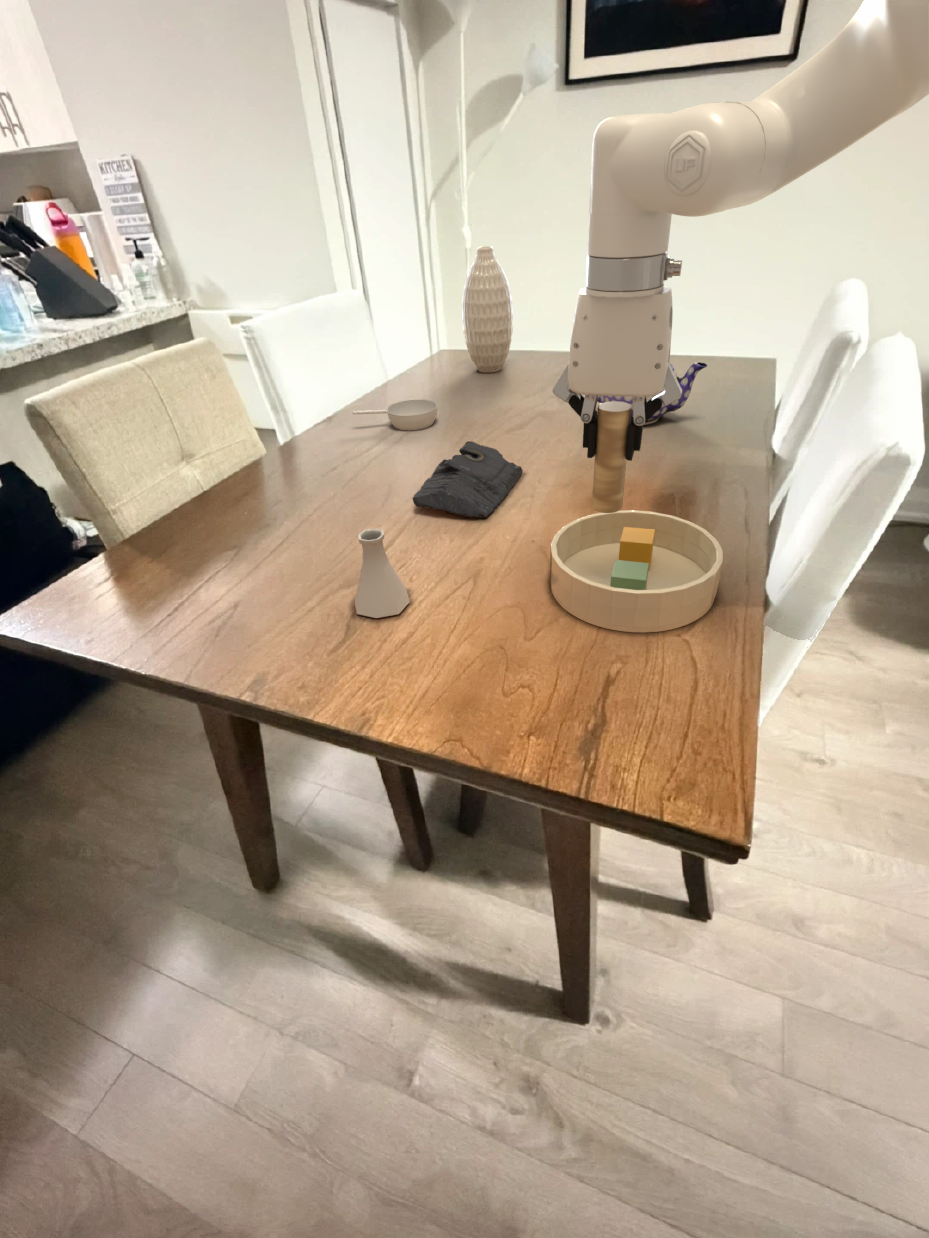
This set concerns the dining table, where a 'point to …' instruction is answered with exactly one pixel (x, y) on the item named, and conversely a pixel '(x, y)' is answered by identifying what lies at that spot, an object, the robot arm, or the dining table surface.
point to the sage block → (629, 575)
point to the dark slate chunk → (469, 482)
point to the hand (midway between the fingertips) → (611, 453)
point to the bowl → (674, 579)
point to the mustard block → (637, 545)
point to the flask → (378, 580)
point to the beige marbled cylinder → (610, 456)
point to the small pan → (408, 414)
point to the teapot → (684, 383)
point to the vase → (487, 312)
